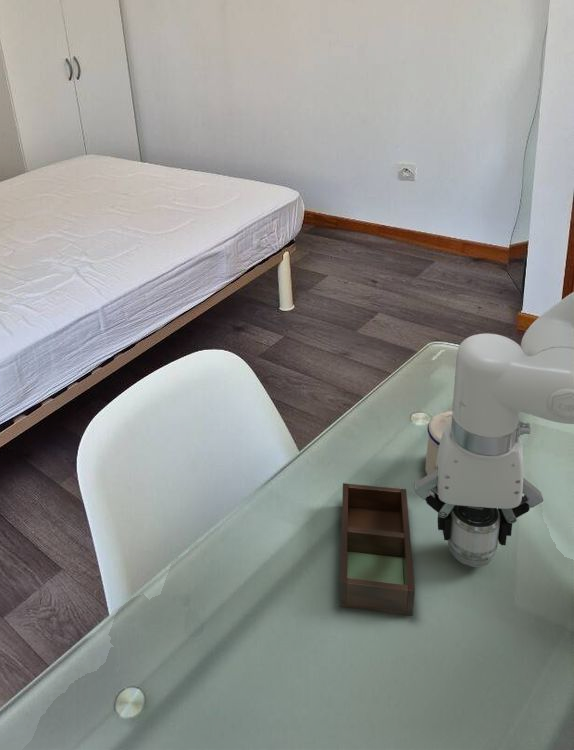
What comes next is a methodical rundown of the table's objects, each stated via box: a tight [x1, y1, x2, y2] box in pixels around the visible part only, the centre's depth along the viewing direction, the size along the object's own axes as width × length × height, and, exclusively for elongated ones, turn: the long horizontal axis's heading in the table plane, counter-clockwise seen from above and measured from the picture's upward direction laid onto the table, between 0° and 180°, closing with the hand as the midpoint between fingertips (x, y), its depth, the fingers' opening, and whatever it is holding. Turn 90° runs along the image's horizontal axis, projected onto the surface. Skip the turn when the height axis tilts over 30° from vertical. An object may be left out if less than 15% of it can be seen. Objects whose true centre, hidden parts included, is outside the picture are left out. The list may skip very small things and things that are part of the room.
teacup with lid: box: [425, 410, 452, 476], centre depth 106 cm, size 12×9×12 cm
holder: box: [339, 482, 416, 616], centre depth 95 cm, size 9×17×4 cm, turn 168°
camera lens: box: [447, 505, 501, 568], centre depth 92 cm, size 6×6×8 cm
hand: (472, 533), depth 92 cm, fingers closed on camera lens, 6 cm apart
